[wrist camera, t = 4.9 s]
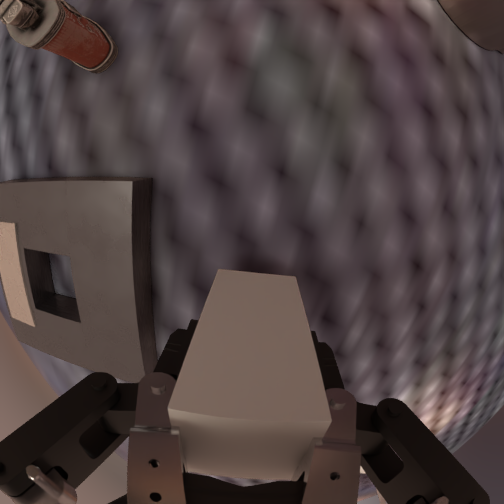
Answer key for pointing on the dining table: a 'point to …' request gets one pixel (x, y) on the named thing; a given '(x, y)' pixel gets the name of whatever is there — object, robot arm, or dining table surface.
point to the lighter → (59, 32)
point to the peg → (250, 381)
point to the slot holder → (81, 270)
